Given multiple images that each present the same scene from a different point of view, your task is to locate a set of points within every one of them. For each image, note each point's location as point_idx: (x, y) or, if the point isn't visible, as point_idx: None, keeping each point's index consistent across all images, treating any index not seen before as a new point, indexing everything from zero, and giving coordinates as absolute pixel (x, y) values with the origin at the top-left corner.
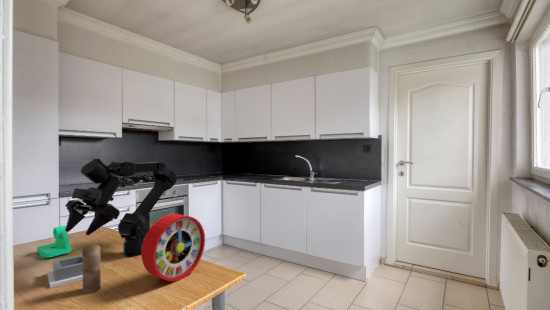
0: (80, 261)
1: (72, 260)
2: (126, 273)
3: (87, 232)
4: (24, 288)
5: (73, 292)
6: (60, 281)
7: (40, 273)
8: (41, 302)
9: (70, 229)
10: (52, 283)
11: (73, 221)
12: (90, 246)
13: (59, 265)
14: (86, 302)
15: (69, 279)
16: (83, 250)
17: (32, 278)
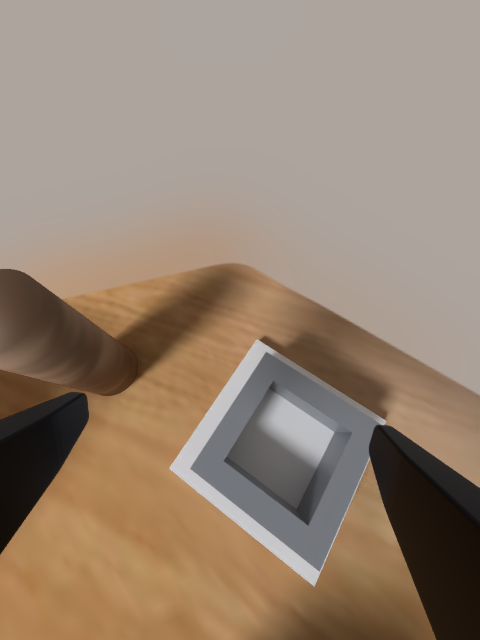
0: (303, 513)
1: (324, 483)
2: (59, 533)
3: (57, 399)
4: (330, 322)
5: (159, 341)
6: (245, 366)
7: (414, 421)
8: (200, 280)
9: (379, 480)
10: (257, 348)
11: (466, 583)
12: (8, 326)
13: (298, 392)
14: (76, 309)
15: (229, 388)
16: (17, 271)
17: (390, 380)
